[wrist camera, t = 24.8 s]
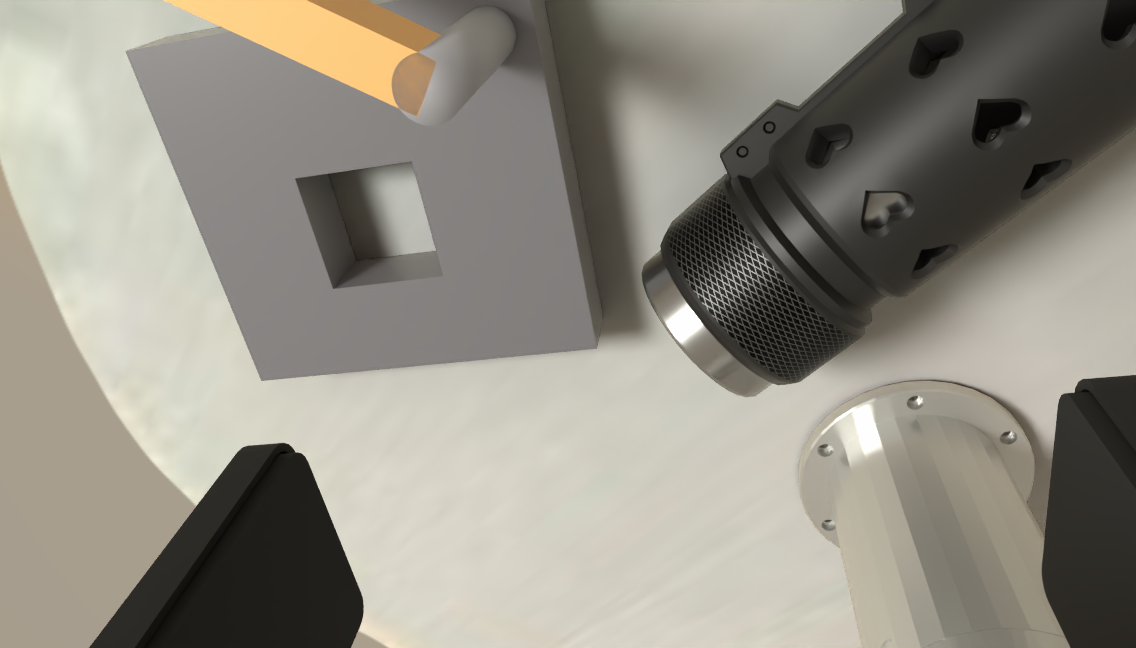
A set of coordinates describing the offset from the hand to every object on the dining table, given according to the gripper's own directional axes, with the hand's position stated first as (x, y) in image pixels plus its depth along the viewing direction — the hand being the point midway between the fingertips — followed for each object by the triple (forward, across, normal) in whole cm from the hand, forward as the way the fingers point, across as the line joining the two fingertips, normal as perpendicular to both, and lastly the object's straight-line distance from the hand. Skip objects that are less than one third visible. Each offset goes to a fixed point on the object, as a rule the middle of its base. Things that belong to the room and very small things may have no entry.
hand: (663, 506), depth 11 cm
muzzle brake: (+29, -7, 0) cm, 30 cm away
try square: (+29, +14, -6) cm, 32 cm away
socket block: (+32, +16, +5) cm, 36 cm away
